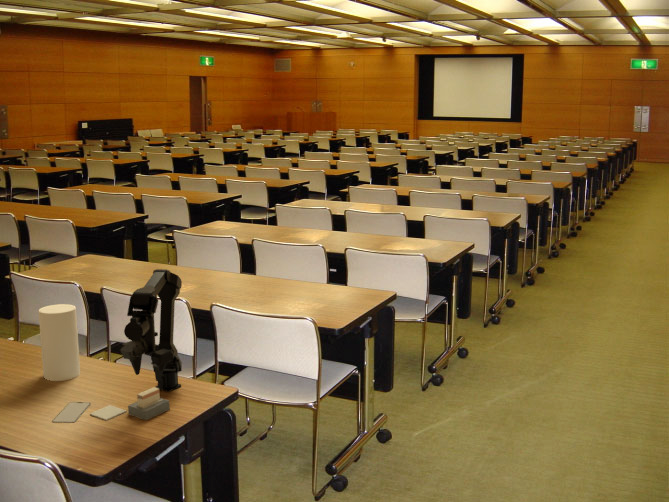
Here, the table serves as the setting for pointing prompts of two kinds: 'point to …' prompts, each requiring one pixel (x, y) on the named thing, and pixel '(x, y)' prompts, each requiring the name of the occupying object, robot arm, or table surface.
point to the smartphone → (71, 412)
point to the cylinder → (59, 342)
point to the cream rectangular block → (148, 397)
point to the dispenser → (149, 409)
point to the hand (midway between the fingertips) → (147, 377)
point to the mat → (108, 412)
